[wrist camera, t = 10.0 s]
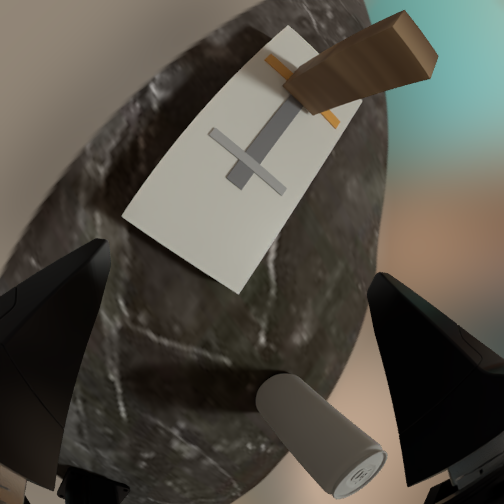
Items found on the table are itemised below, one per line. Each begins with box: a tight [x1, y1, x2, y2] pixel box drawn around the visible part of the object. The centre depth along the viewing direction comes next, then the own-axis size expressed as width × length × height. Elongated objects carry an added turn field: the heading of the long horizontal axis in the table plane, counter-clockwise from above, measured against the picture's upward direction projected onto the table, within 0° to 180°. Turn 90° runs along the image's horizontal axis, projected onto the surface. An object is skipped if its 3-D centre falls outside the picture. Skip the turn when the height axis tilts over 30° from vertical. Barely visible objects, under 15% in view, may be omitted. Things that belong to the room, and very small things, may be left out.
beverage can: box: [256, 373, 387, 499], centre depth 19 cm, size 5×5×12 cm
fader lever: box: [283, 10, 438, 116], centre depth 13 cm, size 2×3×10 cm
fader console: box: [121, 25, 362, 294], centre depth 19 cm, size 18×9×3 cm, turn 144°
